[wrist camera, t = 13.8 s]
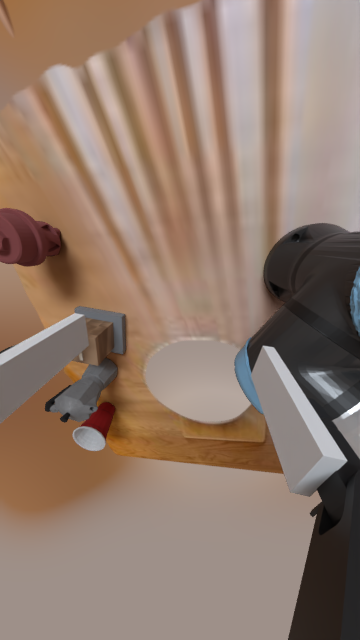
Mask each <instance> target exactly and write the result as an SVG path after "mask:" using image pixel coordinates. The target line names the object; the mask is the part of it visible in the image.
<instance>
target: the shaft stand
mask: <svg viewBox="0 0 360 640" xmlns="http://www.w3.org/2000/svg"><path fill="white" fill-rule="evenodd" d="M75 313H77V314H82V315H85V318H91V319H96V320H102V321H108V322H113V331H114V348H113V349H112V351H111V352H113V353H118V354H124V352H125V351H126V335H125V314H121V313H116V312H110V311H104V310H99V309H93V308H87V307H81V306H79V307H77V308H75Z"/></svg>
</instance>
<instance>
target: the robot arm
mask: <svg viewBox="0 0 360 640" xmlns="http://www.w3.org/2000/svg"><path fill="white" fill-rule="evenodd" d="M264 280H265V283H266V286H267V288H268V289H269V291H270V292H271V293H272V294H273V295H274V296H276V297H277V298H278V299H280V300H282V301H284V302H286V303H285V304H284V305H283V306H282V307H281V308H280V309H279V310H278V311H277V312H276V313H275V314H274V315H273V316H272V317H271V318H270V319H269V320H268V321H267V322H266V323H265V324H264V325H263V326H262V327H261V329H260V330H259V331H258V332H257V333H256V334H255V335H254V336H253V337H252V338H249V339H248V340H247V342H246V344H245V345H244V347H243V348H242V349H241V350H240V351H239V353H238V354H237V355H236V358H235V373H236V377H237V380H238V382H239V384H240V386H241V388H242V390H243V392H244V394H245V395H246V397H247V398H248V400H249V401H250V402H251V403H252V405H253V406H254V407H255V408H256V409H257V410H258V411H259V412H260V413H261V414H264V416H265V419H266V422H267V425H268V428H269V431H270V434H271V437H272V440H273V443H274V446H275V449H276V451H277V454H278V457H279V460H280V463H281V466H282V469H283V472H284V475H285V478H286V481H287V484H288V487H289V490H290V492H292V493H296V494H300V495H305V496H309V497H310V496H311V495H312V494H313V493H314V492H315V491H316V490H317V491H318V493H319V495H320V497H321V499H322V502H321V503H320V504H318V505H317V506H316V507H315V508H314V509H313V510H312V511H311V513H310V515H311V516H312V517H313V516H315V515H316V514H317V516H316V520H315V524H314V529H313V533H312V538H311V543H310V546H309V551H308V555H307V560H306V564H305V568H304V573H303V577H302V581H301V585H300V590H299V595H298V598H297V603H296V607H295V611H294V616H293V620H292V625H291V629H290V633H289V638H288V640H360V232H349V231H347V230H345V229H343V228H341V227H339V226H337V225H333V224H327V223H318V224H311V225H306V226H302V227H299V228H297V229H295V230H293V231H291V232H289V233H288V234H286V235H285V236H284V237H282V238H281V239H280V240H279V241H278V242H277V243H276V244H275V246H274V247H273V248H272V250H271V251H270V253H269V255H268V257H267V259H266V262H265V266H264ZM88 346H89V341H88V335H87V328H86V321H85V315H82V314H77V313H75V314H73V315H71V316H69V317H67V318H65V319H64V320H62V321H60V322H58V323H56V324H54V325H53V326H51V327H49V328H47V329H45V330H43V331H42V332H40V333H38V334H36V335H34V336H32V337H31V338H29V339H27V340H25V341H23V342H21V343H20V344H17V345H14V346H12V347H9V348H7V349H5V350H3V351H1V352H0V423H2V422H3V421H4V420H5V419H6V418H7V417H8V416H9V415H11V414H12V413H13V412H14V411H15V410H16V409H17V408H18V407H20V406H21V405H22V404H23V403H24V402H25V401H26V400H28V399H29V398H30V397H31V396H32V395H33V394H34V393H35V392H37V391H38V390H39V389H40V388H41V387H42V386H43V385H44V384H46V383H47V382H48V381H49V380H50V379H51V378H52V377H53V376H55V375H56V374H57V373H58V372H59V371H60V370H61V369H63V368H64V367H65V366H66V365H67V364H68V363H69V362H71V361H72V360H73V359H74V358H75V357H76V356H77V355H79V354H80V353H81V352H82V351H83V350H84V349H85V348H86V347H88Z"/></svg>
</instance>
